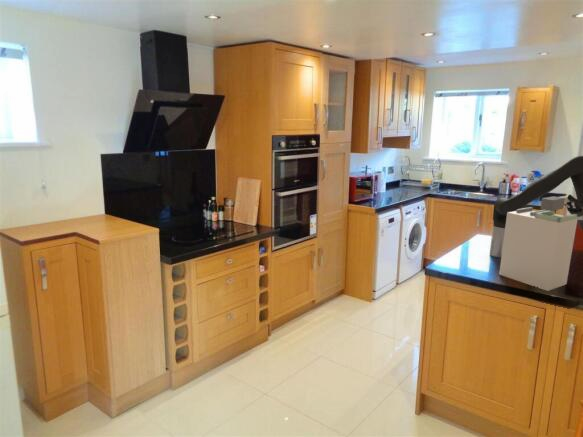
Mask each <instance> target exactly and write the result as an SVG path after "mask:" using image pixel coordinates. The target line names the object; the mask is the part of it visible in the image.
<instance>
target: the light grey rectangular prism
mask: <svg viewBox="0 0 583 437" xmlns="http://www.w3.org/2000/svg"><path fill="white" fill-rule="evenodd" d="M568 195H569V194H567V195H566V196H561V195H560V196H561V197H560V196H548V197H543V198H542V197H541V204H540V210H547V211H554V210H555V211H558V210H564V206H565V205H564V203H566V202H571V201H569V200H568ZM572 196H573V197H574V198H575V195H572ZM555 211H554V212H555Z"/></svg>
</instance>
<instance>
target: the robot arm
mask: <svg viewBox="0 0 583 437" xmlns="http://www.w3.org/2000/svg"><path fill="white" fill-rule="evenodd" d="M568 179H571V182H572V185H573V189H574V192H575V195H576V197H575V196H574V195H571V194H567V195H568V200H569V201H571V202H566V203H564V206H565V207H566V209H567V211H568V213H569V215H573V214H577V218H576V219H577V225H578V227H579V229H581V230H582V231H583V155H576V156H574V157H572V158H570V159H569V160H568V161H567V162H564V164H562V165H561V166H559V167H558V168H555V169H554V170H551V171H550V172H547V173H546V174H543V175H542V176H540V177H539V178H537V179H535V180H533V181H532V182H530V183H529V184H527V186H526V187H525V188H524V189H523V190H522V191H521V192H520V193H519V194H517V195H514V196H512V197H511V198H508V197H499V198H498V199H496V201H495V202H494V206H493V214H492V221H493V222H492V223H493V225H492V235H491V239H490V240H491V241H490V248H489V256H491V257H494V258H495V257H496V258H500V259H501V256H502V249H503V241H504V233H505V226H506V218H507V212H513V211H517V209H522V208H525V206H527V205H528V204H530V203H532V202H534V201H535V200H538V199H539V198H542V197H543V196H545V195H546V194H548V193H550V192H552V191H553V190H555V189H556V188H558V187H559V186H560V185H561V184H562V183H564V182H565V181H566V180H568ZM567 195H566V194H565V193H561V194H560V196H559V197H561V196H567ZM573 196H574V197H573Z"/></svg>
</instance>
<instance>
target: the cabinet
mask: <svg viewBox="0 0 583 437" xmlns="http://www.w3.org/2000/svg"><path fill="white" fill-rule="evenodd" d="M555 211H556V210H554V211H549V210H543V209H540V210H534V207H532V206H529V207H522V208H521V209H517V211H513V212H507V218H506V226H505V233H504V241H503V249H502V256H501V258H500V263H499V264H500V265H499V274H498V275H500V276H503V277H504V278H508V279H511V280H514V281H516V282H517V281H518V282H519V283H523V284H527V285H529V286H532V287H534V286H535V288H537V287H538V288H537V289H539V290H540V289H541V290H543V291H547V292H549V291H551V290H555V289H557V288H560V287H562V286H565V285H567V283H568V276H569V271H570V265H571V259H572V254H573V253H572V252H573V248H574V242H575V235H576V232H577V231H576V230H577V225H578V220H577V219H576V218H577V214H573V215H571V214H569V215H568V214H567V215H563V214H556V213H555Z"/></svg>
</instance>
